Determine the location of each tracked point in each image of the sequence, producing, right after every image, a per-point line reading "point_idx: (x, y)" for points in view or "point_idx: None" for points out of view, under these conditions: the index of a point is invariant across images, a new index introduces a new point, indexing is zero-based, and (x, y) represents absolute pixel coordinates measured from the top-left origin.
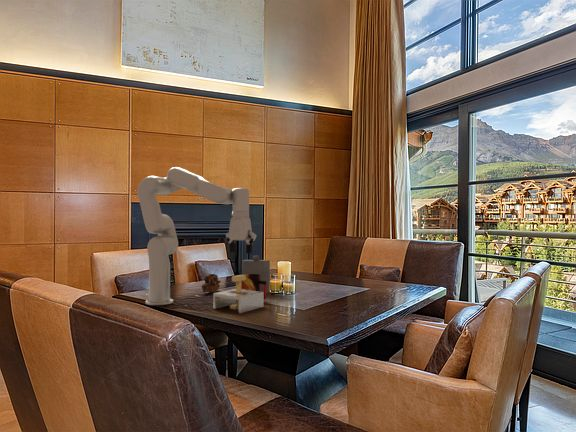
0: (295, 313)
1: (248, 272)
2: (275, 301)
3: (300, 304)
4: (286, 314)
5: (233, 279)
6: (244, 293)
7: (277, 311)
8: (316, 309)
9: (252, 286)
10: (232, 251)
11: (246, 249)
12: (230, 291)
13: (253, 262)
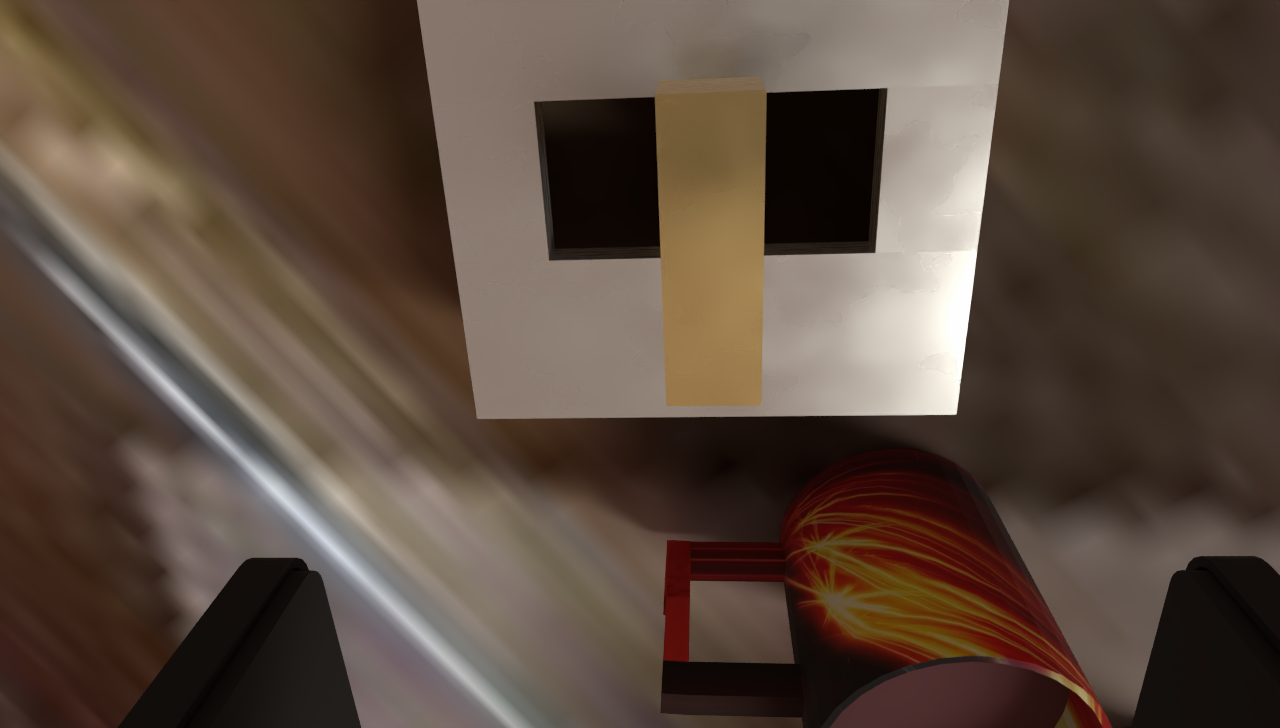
0: (54, 285)
1: None
2: (597, 588)
3: None
4: (72, 195)
5: (716, 85)
6: None
7: (240, 249)
8: (71, 522)
9: (828, 592)
10: (1173, 657)
11: (208, 669)
12: (882, 178)
13: None
